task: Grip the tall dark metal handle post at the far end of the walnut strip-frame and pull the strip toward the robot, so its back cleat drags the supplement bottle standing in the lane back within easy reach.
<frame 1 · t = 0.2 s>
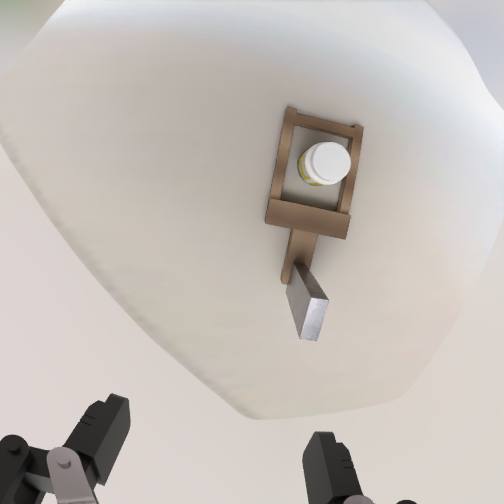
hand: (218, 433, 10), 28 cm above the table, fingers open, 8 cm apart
strip frame: (321, 206, 29), point 7 cm above the table, slide at 0.0 cm
supplement bottle: (314, 167, 35), resting in strip frame
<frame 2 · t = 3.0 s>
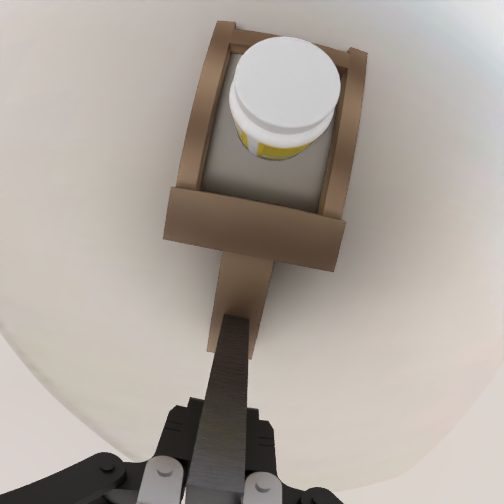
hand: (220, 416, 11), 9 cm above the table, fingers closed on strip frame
strip frame: (263, 200, 11), point 7 cm above the table, slide at 0.0 cm, touching gripper
supplement bottle: (273, 126, 17), resting in strip frame
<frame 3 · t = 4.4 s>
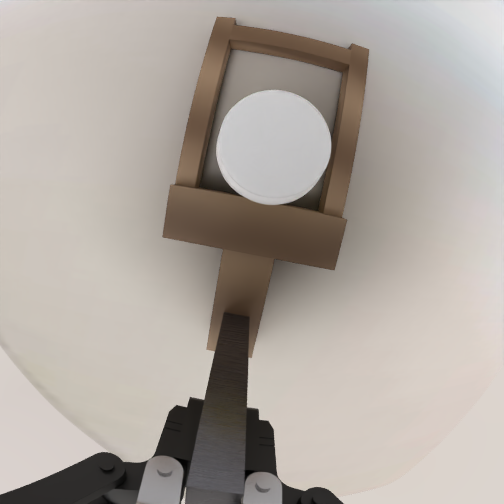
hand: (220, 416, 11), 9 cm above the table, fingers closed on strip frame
strip frame: (263, 199, 11), point 7 cm above the table, slide at 3.0 cm, touching supplement bottle, gripper
supplement bottle: (266, 161, 18), resting in strip frame
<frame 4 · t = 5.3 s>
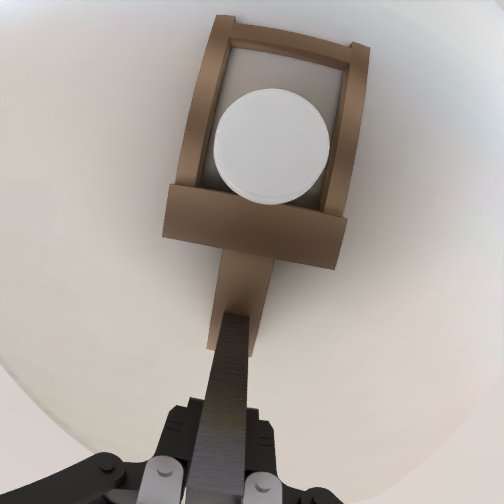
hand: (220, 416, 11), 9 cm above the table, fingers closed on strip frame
strip frame: (263, 199, 11), point 7 cm above the table, slide at 7.8 cm, touching supplement bottle, gripper
supplement bottle: (264, 160, 18), resting in strip frame
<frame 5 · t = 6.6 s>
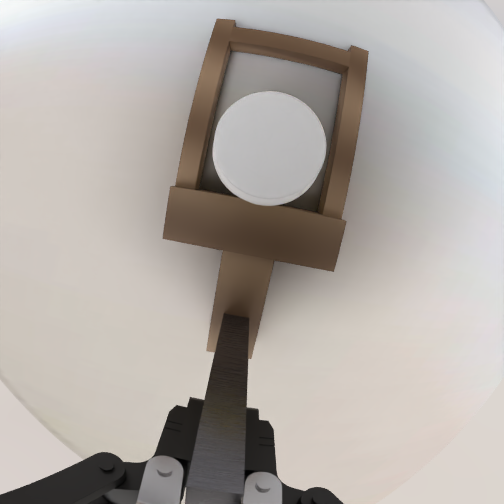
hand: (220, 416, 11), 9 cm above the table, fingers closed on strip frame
strip frame: (263, 200, 11), point 7 cm above the table, slide at 11.5 cm, touching supplement bottle, gripper
supplement bottle: (263, 163, 18), resting in strip frame
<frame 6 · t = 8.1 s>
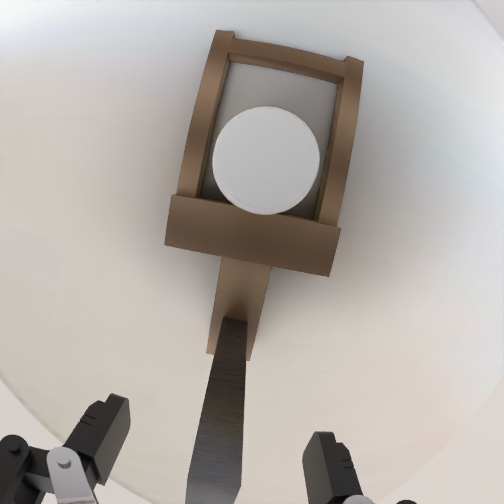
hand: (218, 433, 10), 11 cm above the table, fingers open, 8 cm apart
strip frame: (260, 210, 12), point 7 cm above the table, slide at 11.6 cm
supplement bottle: (261, 171, 19), resting in strip frame
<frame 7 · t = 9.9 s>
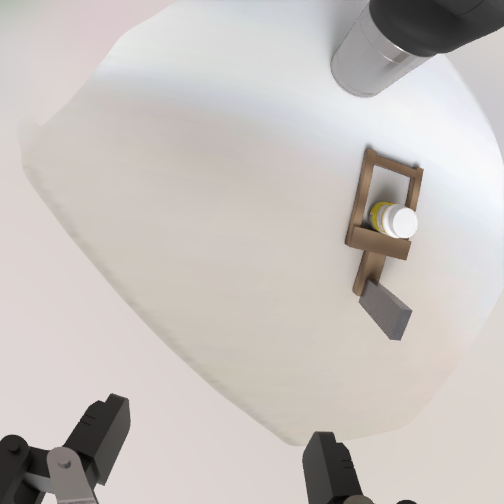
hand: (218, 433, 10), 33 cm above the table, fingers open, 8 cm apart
strip frame: (399, 237, 34), point 7 cm above the table, slide at 11.6 cm
supplement bottle: (379, 216, 41), resting in strip frame
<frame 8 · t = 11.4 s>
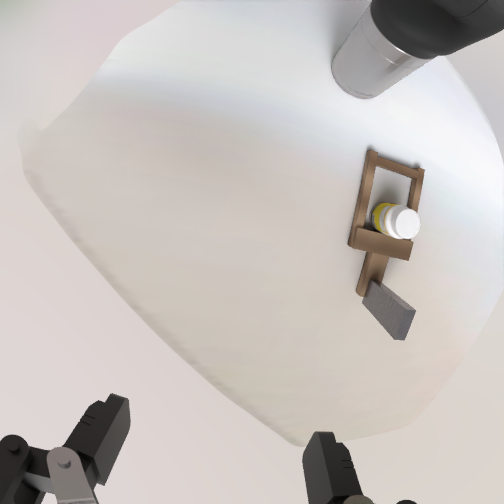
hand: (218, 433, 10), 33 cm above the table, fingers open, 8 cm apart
strip frame: (401, 238, 35), point 7 cm above the table, slide at 11.6 cm
supplement bottle: (382, 217, 41), resting in strip frame
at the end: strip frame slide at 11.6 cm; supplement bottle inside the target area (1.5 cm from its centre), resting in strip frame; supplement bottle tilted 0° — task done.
